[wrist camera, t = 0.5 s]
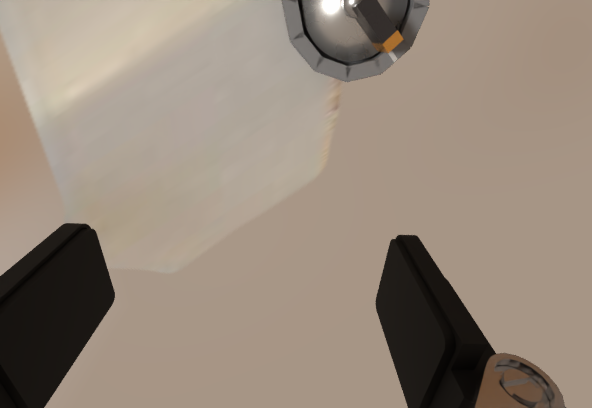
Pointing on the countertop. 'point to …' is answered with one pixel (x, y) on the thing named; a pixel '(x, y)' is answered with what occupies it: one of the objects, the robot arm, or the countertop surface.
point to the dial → (354, 26)
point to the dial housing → (351, 69)
